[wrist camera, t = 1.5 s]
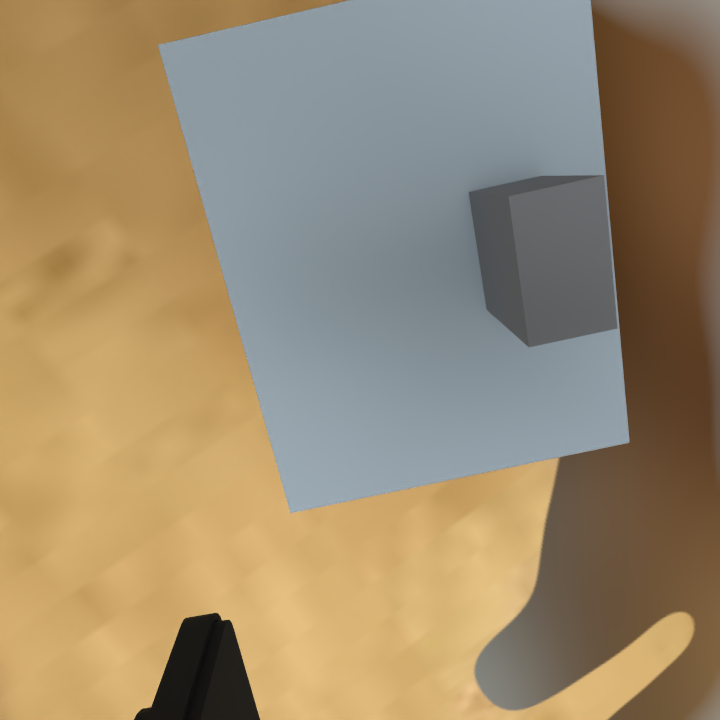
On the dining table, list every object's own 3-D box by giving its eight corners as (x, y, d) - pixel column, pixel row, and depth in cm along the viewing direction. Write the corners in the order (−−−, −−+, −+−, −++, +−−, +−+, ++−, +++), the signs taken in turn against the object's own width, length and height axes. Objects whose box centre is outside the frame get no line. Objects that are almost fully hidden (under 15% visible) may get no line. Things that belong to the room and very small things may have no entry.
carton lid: (162, 48, 23) (95, -1, 17) (579, -50, 23) (672, -138, 16) (291, 506, 29) (278, 598, 23) (623, 437, 28) (704, 511, 22)
